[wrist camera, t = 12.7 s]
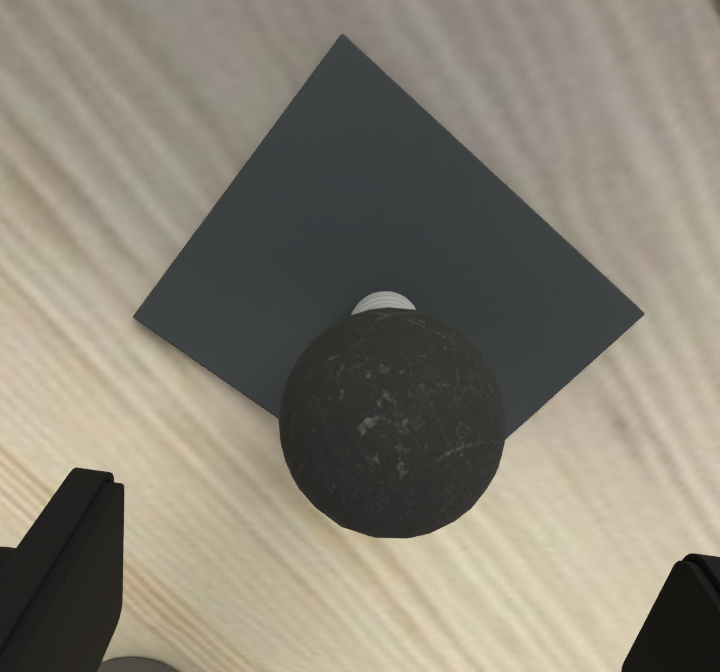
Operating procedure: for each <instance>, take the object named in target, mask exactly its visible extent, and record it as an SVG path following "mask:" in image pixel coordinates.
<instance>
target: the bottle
mask: <svg viewBox="0 0 720 672" xmlns="http://www.w3.org/2000/svg"><path fill="white" fill-rule="evenodd" d="M97 672H177V671H175V670H173V669H172V668H170V667H168V666H167V665H164V664H161V663H159V662H156V661H152V660H148V659H142V658H120V659H115V660H110V661H107V662H105V663H103V664H100V666H99V668H98V671H97Z"/></svg>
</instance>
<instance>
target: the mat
mask: <svg viewBox="0 0 720 672" xmlns="http://www.w3.org/2000/svg"><path fill="white" fill-rule="evenodd" d="M384 291H385V292H388V291H390V292H394V293H398V294H400V295H402V296H404V297H406V298H407V299H408V300H409V301H410V302H411V303H412V304H413V305H414V307H415V309H416V310H417V311H420V312H423V313H426V314H429V315H432V316H434V317H436V318H439V319H441V320H443V321H445V322H447V323H448V324H450V325H451V326H453V327H455V328H457V329H458V330H460V331H461V332H462V333H463V334H464V335H465V336H466V337H467V338H468V339H469V340H470V341H471V342H473V343H474V344H475V345H476V347H477V348H478V349H479V351H480V352H481V353H482V355H483V356H484V357H485V359H486V360H487V361H488V363H489V364H490V365H491V368H492V369H493V371H494V374H495V376H496V378H497V381H498V383H499V386H500V388H501V391H502V396H503V402H504V408H505V412H506V436H505V439H506V438H508V437H509V436H510V435H511V434H512V433H513V432H514V431H515V430H517V429H518V428H519V427H520V426H521V425H522V424H523V423H524V422H525V421H527V420H528V419H529V418H530V417H531V416H532V415H533V414H534V413H535V412H537V411H538V410H539V409H540V408H541V407H542V406H543V405H544V404H545V403H547V402H548V401H549V400H550V399H551V398H552V397H553V396H554V395H555V394H557V393H558V392H559V391H560V390H561V389H562V388H563V387H564V386H565V385H567V384H568V383H569V382H570V381H571V380H572V379H573V378H574V377H576V376H577V375H578V374H579V373H580V372H581V371H582V370H583V369H584V368H586V367H587V366H588V365H589V364H590V363H591V362H592V361H593V360H594V359H596V358H597V357H598V356H599V355H600V354H601V353H602V352H603V351H604V350H606V349H607V348H608V347H609V346H610V345H611V344H612V343H613V342H614V341H616V340H617V339H618V338H619V337H620V336H621V335H622V334H623V333H624V332H626V331H627V330H628V329H629V328H630V327H631V326H632V325H633V324H634V323H636V322H637V321H638V320H639V319H640V318H641V317H642V316H643V315H644V312H643V311H642V310H641V309H640V308H639V307H637V306H636V305H635V304H634V303H633V302H632V301H631V300H630V299H629V298H628V297H627V296H626V295H624V294H623V293H622V292H621V291H620V290H619V289H618V288H617V287H616V286H615V285H614V284H613V283H611V282H610V281H609V280H608V279H607V278H606V277H605V276H604V275H603V274H602V273H601V272H600V271H599V270H597V269H596V268H595V267H594V266H593V265H592V264H591V263H590V262H589V261H588V260H587V259H586V258H584V257H583V256H582V255H581V254H580V253H579V252H578V251H577V250H576V249H575V248H574V247H573V246H571V245H570V244H569V243H568V242H567V241H566V240H565V239H564V238H563V237H562V236H561V235H560V234H559V233H557V232H556V231H555V230H554V229H553V228H552V227H551V226H550V225H549V224H548V223H547V222H546V221H544V220H543V219H542V218H541V217H540V216H539V215H538V214H537V213H536V212H535V211H534V210H533V209H531V208H530V207H529V206H528V205H527V204H526V203H525V202H524V201H523V200H522V199H521V198H520V197H519V196H517V195H516V194H515V193H514V192H513V191H512V190H511V189H510V188H509V187H508V186H507V185H506V184H504V183H503V182H502V181H501V180H500V179H499V178H498V177H497V176H496V175H495V174H494V173H493V172H491V171H490V170H489V169H488V168H487V167H486V166H485V165H484V164H483V163H482V162H481V161H480V160H479V159H477V158H476V157H475V156H474V155H473V154H472V153H471V152H470V151H469V150H468V149H467V148H466V147H464V146H463V145H462V144H461V143H460V142H459V141H458V140H457V139H456V138H455V137H454V136H453V135H452V134H450V133H449V132H448V131H447V130H446V129H445V128H444V127H443V126H442V125H441V124H440V123H439V122H437V121H436V120H435V119H434V118H433V117H432V116H431V115H430V114H429V113H428V112H427V111H426V110H424V109H423V108H422V107H421V106H420V105H419V104H418V103H417V102H416V101H415V100H414V99H413V98H412V97H410V96H409V95H408V94H407V93H406V92H405V91H404V90H403V89H402V88H401V87H400V86H399V85H397V84H396V83H395V82H394V81H393V80H392V79H391V78H390V77H389V76H388V75H387V74H386V73H384V72H383V71H382V70H381V69H380V68H379V67H378V66H377V65H376V64H375V63H374V62H373V61H372V60H370V59H369V58H368V57H367V56H366V55H365V54H364V53H363V52H362V51H361V50H360V49H359V48H357V47H356V46H355V45H354V44H353V43H352V42H351V41H350V40H349V39H348V38H347V37H346V36H344V35H343V34H341V35H340V37H339V38H338V39H337V41H336V42H335V43H334V45H333V46H332V48H331V49H330V50H329V52H328V53H327V54H326V56H325V57H324V58H323V60H322V61H321V62H320V64H319V65H318V67H317V68H316V69H315V71H314V72H313V73H312V75H311V76H310V77H309V79H308V80H307V81H306V83H305V84H304V86H303V87H302V88H301V90H300V91H299V92H298V94H297V95H296V96H295V98H294V99H293V100H292V102H291V103H290V104H289V106H288V107H287V109H286V110H285V111H284V113H283V114H282V115H281V117H280V118H279V119H278V121H277V122H276V123H275V125H274V126H273V128H272V129H271V130H270V132H269V133H268V134H267V136H266V137H265V138H264V140H263V141H262V142H261V144H260V145H259V147H258V148H257V149H256V151H255V152H254V153H253V155H252V156H251V157H250V159H249V160H248V161H247V163H246V164H245V166H244V167H243V168H242V170H241V171H240V172H239V174H238V175H237V176H236V178H235V179H234V180H233V182H232V183H231V184H230V186H229V187H228V189H227V190H226V191H225V193H224V194H223V195H222V197H221V198H220V199H219V201H218V202H217V203H216V205H215V206H214V208H213V209H212V210H211V212H210V213H209V214H208V216H207V217H206V218H205V220H204V221H203V222H202V224H201V225H200V227H199V228H198V229H197V231H196V232H195V233H194V235H193V236H192V237H191V239H190V240H189V241H188V243H187V244H186V246H185V247H184V248H183V250H182V251H181V252H180V254H179V255H178V256H177V258H176V259H175V260H174V262H173V263H172V264H171V266H170V267H169V269H168V270H167V271H166V273H165V274H164V275H163V277H162V278H161V279H160V281H159V282H158V283H157V285H156V286H155V288H154V289H153V290H152V292H151V293H150V294H149V296H148V297H147V298H146V300H145V301H144V302H143V304H142V305H141V307H140V308H139V309H138V311H137V312H136V313H135V315H134V316H133V317H134V318H135V319H136V320H138V321H139V322H140V323H142V324H143V325H145V326H146V327H148V328H149V329H151V330H152V331H153V332H155V333H156V334H158V335H159V336H161V337H162V338H163V339H165V340H166V341H168V342H169V343H171V344H172V345H174V346H175V347H176V348H178V349H179V350H181V351H182V352H184V353H185V354H186V355H188V356H189V357H191V358H192V359H194V360H195V361H197V362H198V363H199V364H201V365H202V366H204V367H205V368H207V369H208V370H209V371H211V372H212V373H214V374H215V375H217V376H218V377H220V378H221V379H222V380H224V381H225V382H227V383H228V384H230V385H231V386H232V387H234V388H235V389H237V390H238V391H240V392H241V393H242V394H244V395H245V396H247V397H248V398H250V399H251V400H253V401H254V402H255V403H257V404H258V405H260V406H261V407H263V408H264V409H265V410H267V411H268V412H270V413H271V414H273V415H274V416H276V417H277V418H278V419H279V415H280V407H281V401H282V396H283V391H284V388H285V385H286V381H287V379H288V377H289V375H290V373H291V371H292V369H293V368H294V366H295V364H296V362H297V360H298V359H299V357H300V355H301V354H302V353H303V352H304V350H305V349H306V348H307V347H308V346H309V344H310V343H311V342H312V341H313V340H314V339H315V338H316V337H317V336H319V335H320V334H321V333H322V332H324V331H325V330H326V329H327V328H329V327H330V326H332V325H333V324H335V323H337V322H339V321H341V320H343V319H345V318H347V317H349V316H351V314H352V311H353V310H354V308H355V307H356V306H357V304H358V303H359V302H360V301H361V300H362V299H364V298H365V297H367V296H368V295H370V294H372V293H376V292H384Z"/></svg>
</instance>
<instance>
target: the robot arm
mask: <svg viewBox="0 0 720 672" xmlns="http://www.w3.org/2000/svg"><path fill="white" fill-rule="evenodd" d="M123 538H124V485H123V484H122V483H115V482H114V476H113V474H112V473H111V472H104V471H97V470H90V469H83V468H74V469H73V470H72V471H71V472H70V473H69V474H68V476H67V477H66V479H65V480H64V482H63V483H62V484H61V486H60V487H59V489H58V490H57V491H56V493H55V494H54V496H53V497H52V498H51V500H50V501H49V503H48V504H47V506H46V507H45V508H44V510H43V511H42V513H41V514H40V515H39V517H38V518H37V520H36V521H35V522H34V524H33V525H32V527H31V528H30V530H29V531H28V532H27V534H26V535H25V537H24V538H23V539H22V541H21V542H20V544H19V545H18V546H17V548H10V547H0V672H97V671H98V668H99V666H100V664H101V661H102V659H103V657H104V654H105V652H106V650H107V648H108V645H109V643H110V641H111V638H112V636H113V634H114V631H115V629H116V626H117V624H118V621H119V618H120V614H121V609H122V596H123ZM621 672H720V557H716V556H708V555H701V554H688V555H687V556H685V557H684V559H683V560H682V561H678V562H676V563H675V565H674V566H673V568H672V570H671V572H670V574H669V576H668V578H667V580H666V582H665V584H664V586H663V587H662V589H661V591H660V593H659V595H658V597H657V599H656V601H655V603H654V605H653V607H652V609H651V611H650V613H649V615H648V617H647V618H646V620H645V622H644V624H643V626H642V628H641V630H640V632H639V634H638V636H637V638H636V640H635V642H634V644H633V646H632V648H631V650H630V651H629V653H628V655H627V657H626V659H625V661H624V663H623V666H622V671H621Z"/></svg>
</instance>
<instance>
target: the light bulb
mask: <svg viewBox="0 0 720 672" xmlns="http://www.w3.org/2000/svg"><path fill="white" fill-rule="evenodd" d="M279 429H280V440H281V445H282V449H283V453H284V457H285V461H286V463H287V465H288V468H289V470H290V473H291V475H292V477H293V479H294V481H295V482H296V484H297V486H298V488H299V489H300V490H301V491H302V493H303V494H304V495H305V496H306V497H307V498H308V499H309V501H310V502H311V503H312V504H313V505H314V506H315V507H316V508H317V509H318V510H320V511H321V512H322V513H324V514H325V515H326V516H328V517H329V518H330V519H332V520H333V521H334V522H336V523H337V524H338V525H340V526H341V527H344V528H347V529H350V530H353V531H356V532H359V533H362V534H365V535H368V536H372V537H375V538H412V537H416V536H420V535H425V534H429V533H431V532H433V531H436V530H438V529H440V528H442V527H444V526H446V525H448V524H450V523H452V522H454V521H455V520H457V519H458V518H459V517H461V516H462V515H463V514H464V513H466V512H467V511H468V510H470V509H471V508H472V507H473V506H474V504H475V503H476V502H477V501H478V499H479V498H480V497H481V496H482V494H483V493H484V492H485V490H486V489H487V488H488V486H489V484H490V482H491V481H492V479H493V477H494V476H495V474H496V471H497V469H498V467H499V463H500V459H501V456H502V451H503V447H504V443H505V436H506V412H505V408H504V402H503V396H502V391H501V388H500V386H499V383H498V381H497V378H496V376H495V374H494V371H493V369H492V368H491V365H490V364H489V363H488V361H487V360H486V359H485V357H484V356H483V355H482V353H481V352H480V351H479V349H478V348H477V347H476V345H475V344H474V343H473V342H471V341H470V340H469V339H468V338H467V337H466V336H465V335H464V334H463V333H462V332H461V331H460V330H458V329H457V328H455V327H453V326H451V325H450V324H448V323H447V322H445V321H443V320H441V319H439V318H436V317H434V316H432V315H429V314H426V313H423V312H420V311H417V310H416V309H415V307H414V305H413V304H412V303H411V302H410V301H409V300H408V299H407V298H406V297H404V296H402V295H400V294H398V293H394V292H390V291H388V292H385V291H384V292H376V293H372V294H370V295H368V296H367V297H365V298H364V299H362V300H361V301H360V302H359V303H358V304H357V306H356V307H355V308H354V310H353V311H352V314H351V316H349V317H347V318H345V319H343V320H341V321H339V322H337V323H335V324H333V325H332V326H330V327H329V328H327V329H326V330H325V331H324V332H322V333H321V334H320V335H319V336H317V337H316V338H315V339H314V340H313V341H312V342H311V343H310V344H309V346H308V347H307V348H306V349H305V350H304V352H303V353H302V354H301V355H300V357H299V359H298V360H297V362H296V364H295V366H294V368H293V369H292V371H291V373H290V375H289V377H288V379H287V381H286V385H285V388H284V391H283V396H282V401H281V407H280V415H279Z"/></svg>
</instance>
